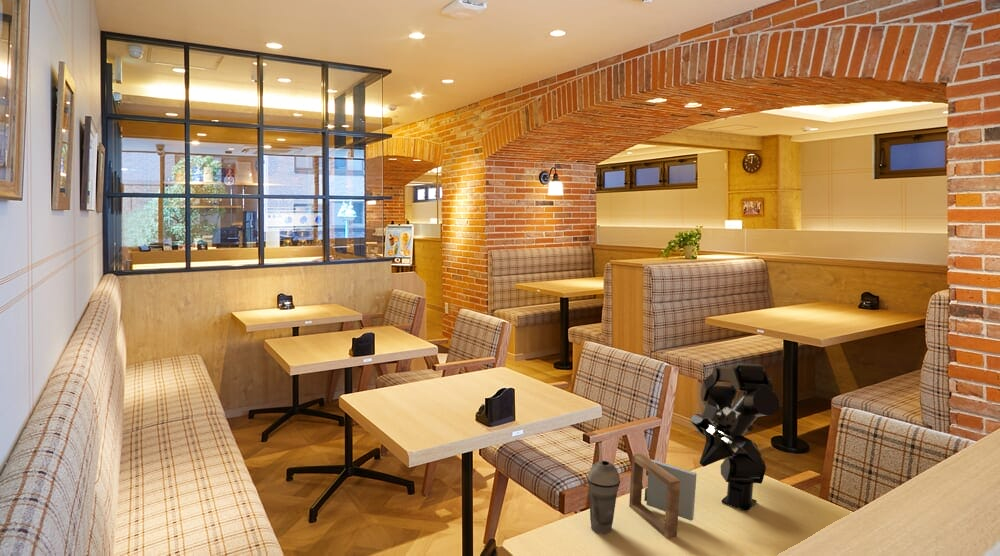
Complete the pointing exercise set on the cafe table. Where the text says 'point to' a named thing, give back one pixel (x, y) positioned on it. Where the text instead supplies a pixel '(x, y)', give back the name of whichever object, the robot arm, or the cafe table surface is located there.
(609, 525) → the beverage cup
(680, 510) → the cabinet door
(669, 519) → the cabinet frame
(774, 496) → the cafe table surface
